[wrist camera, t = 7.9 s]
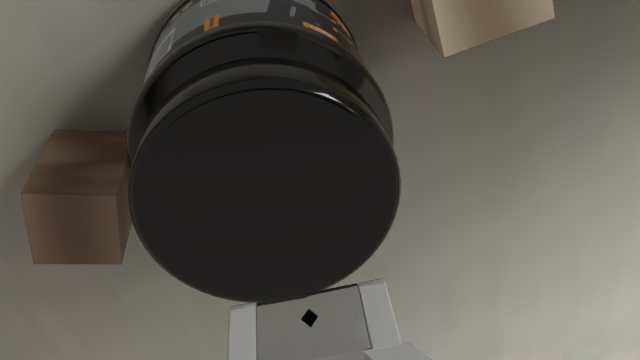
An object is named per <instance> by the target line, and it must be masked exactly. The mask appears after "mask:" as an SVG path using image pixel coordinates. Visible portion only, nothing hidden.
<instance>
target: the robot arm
mask: <svg viewBox="0 0 640 360" xmlns="http://www.w3.org/2000/svg"><path fill="white" fill-rule="evenodd" d="M227 360H432V359H430V358H429V357H428V356H427V355H425V354H424V353H423V352H422V351H420V350H419V349H418V348H417V347H415V346H414V345H413V344H412V343H410V342H409V343H403V344H402V341H401V337H400V333H399V330H398V326H397V322H396V319H395V315H394V311H393V308H392V304H391V300H390V296H389V293H388V289H387V285H386V282H385V280H384V279H383V278H381V279H376V280H371V281H366V282H361V283H358V285H357V283H356V284H351V285H346V286H341V287H336V288H330V289H325V290H320V291H315V292H310V293H307V294H300V295H294V296H288V297H281V298H275V299H269V300H263V301H257V302H254V303H247V304H241V305H234V306H231V309H230V312H229V329H228V352H227Z"/></svg>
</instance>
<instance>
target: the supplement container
mask: <svg viewBox="0 0 640 360" xmlns="http://www.w3.org/2000/svg"><path fill="white" fill-rule="evenodd" d="M126 143H127V158H128V164H129V168H130V175H129V181H128V205H129V211H130V216H131V219H132V223H133V226H134V228H135V231H136V233H137V235H138V237H139V239H140V241H141V242H142V244H143V246H144V247H145V249H146V250H147V251H148V253H149V254H150V255H151V257H152V258H153V259H154V260H155V261H156V262H157V263H158V264H159V265H160V266H161V267H162V268H163V269H164V270H166V271H167V272H168V273H169V274H170V275H172V276H173V277H175V278H176V279H178V280H179V281H181V282H183V283H184V284H186V285H188V286H190V287H192V288H194V289H196V290H198V291H201V292H203V293H206V294H209V295H212V296H215V297H219V298H223V299H227V300H233V301H239V302H250V303H254V302H257V301H263V300H269V299H275V298H281V297H288V296H294V295H300V294H307V293H310V292H315V291H320V290H324V289H326V288H328V287H330V286H332V285H334V284H336V283H338V282H340V281H341V280H343V279H345V278H346V277H348V276H349V275H351V274H352V273H353V272H355V271H356V270H357V269H358V268H360V267H361V266H362V265H363V264H364V263H365V262H366V261H367V260H368V259H369V258H370V257H371V256H372V255H373V254H374V253H375V252H376V250H377V249H378V248H379V247H380V245H381V244H382V242H383V241H384V239H385V238H386V236H387V234H388V232H389V231H390V229H391V227H392V224H393V222H394V219H395V217H396V213H397V209H398V206H399V200H400V193H401V179H400V170H399V165H398V161H397V157H396V154H395V152H394V149H393V126H392V120H391V115H390V111H389V108H388V105H387V102H386V100H385V97H384V95H383V93H382V91H381V89H380V87H379V85H378V83H377V82H376V80H375V79H374V77H373V76H372V74H371V73H370V71H369V70H368V69H367V68H366V66H365V64H364V62H363V60H362V58H361V56H360V54H359V52H358V49H357V46H356V43H355V41H354V38H353V36H352V34H351V32H350V30H349V28H348V26H347V25H346V23H345V22H344V20H343V19H342V17H341V16H340V15H339V14H338V13H337V11H336V10H335V9H334V8H333V7H332V6H331V5H330V4H329V3H328V2H327V1H326V0H183V1H182V2H181V3H179V4H178V5H177V6H176V7H175V8H174V10H173V11H172V12H171V13H170V14H169V16H168V17H167V18H166V20H165V22H164V23H163V25H162V26H161V28H160V30H159V32H158V34H157V36H156V39H155V42H154V44H153V47H152V51H151V55H150V60H149V67H148V70H147V74H146V77H145V80H144V84H143V85H142V87H141V89H140V91H139V93H138V95H137V97H136V99H135V102H134V105H133V108H132V110H131V114H130V118H129V123H128V128H127V139H126Z"/></svg>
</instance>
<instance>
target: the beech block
mask: <svg viewBox="0 0 640 360" xmlns="http://www.w3.org/2000/svg"><path fill="white" fill-rule="evenodd" d="M410 1H411V5H412V9H413V13H414V17H415V22H416V23H417V24H418V25H419V27H420V28H421V29H422V30H423V32H424V33H425V34H426V35H427V37H428V38H429V39H430V40H431V41H432V43H433V44H434V45H435V46H436V48H437V49H438V50H439V51H440V53H441V54H442V55H443V56H444V58H445V57H447V56H450V55H453V54H456V53H459V52H461V51H464V50H467V49H470V48H473V47H475V46H478V45H481V44H484V43H486V42H489V41H492V40H495V39H498V38H500V37H503V36H506V35H509V34H512V33H514V32H517V31H520V30H523V29H526V28H528V27H531V26H534V25H537V24H540V23H542V22H545V21H548V20H551V19H553V18H555V16H554V6H553V0H410Z"/></svg>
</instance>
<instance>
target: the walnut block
mask: <svg viewBox="0 0 640 360" xmlns="http://www.w3.org/2000/svg"><path fill="white" fill-rule="evenodd" d="M126 139H127V133H125V132H101V131H76V130H54V132H53V134H52V135H51V137H50V139H49V141H48V143H47V145H46V147H45V149H44V151H43V153H42V154H41V156H40V158H39V160H38V162H37V164H36V166H35V168H34V170H33V172H32V173H31V175H30V177H29V179H28V181H27V183H26V185H25V187H24V189H23V191H22V192H21V198H22V204H23V209H24V214H25V220H26V225H27V231H28V236H29V241H30V247H31V252H32V258H33V263H34V264H122V260H123V256H124V252H125V248H126V243H127V239H128V235H129V230H130V226H131V222H132V219H131V216H130V211H129V205H128V181H129V175H130V168H129V164H128V158H127V143H126Z"/></svg>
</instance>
